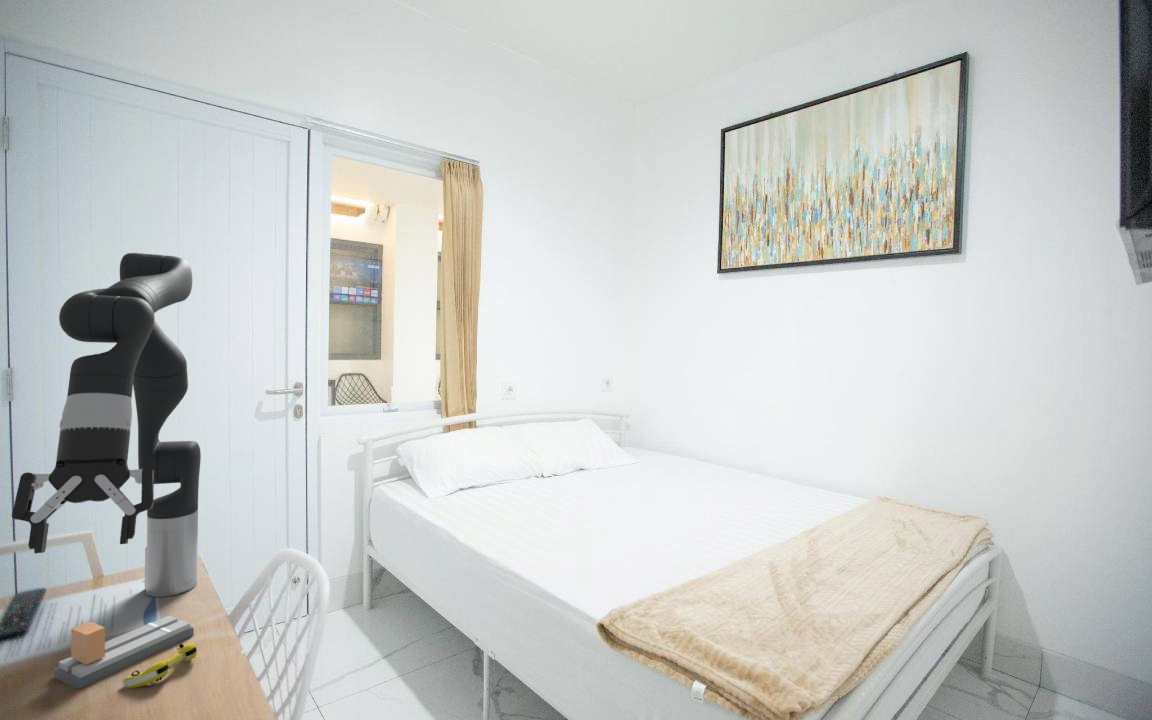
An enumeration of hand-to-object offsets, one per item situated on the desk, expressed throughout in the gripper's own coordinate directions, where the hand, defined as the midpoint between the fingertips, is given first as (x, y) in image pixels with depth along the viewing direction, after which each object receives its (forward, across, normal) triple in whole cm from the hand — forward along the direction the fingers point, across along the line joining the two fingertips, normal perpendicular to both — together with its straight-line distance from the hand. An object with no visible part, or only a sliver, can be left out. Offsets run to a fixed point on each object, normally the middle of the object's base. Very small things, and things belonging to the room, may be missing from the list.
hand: (82, 548), depth 73 cm
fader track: (+20, -3, -33) cm, 39 cm away
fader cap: (+19, +2, -30) cm, 35 cm away
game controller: (+23, -9, -25) cm, 35 cm away
